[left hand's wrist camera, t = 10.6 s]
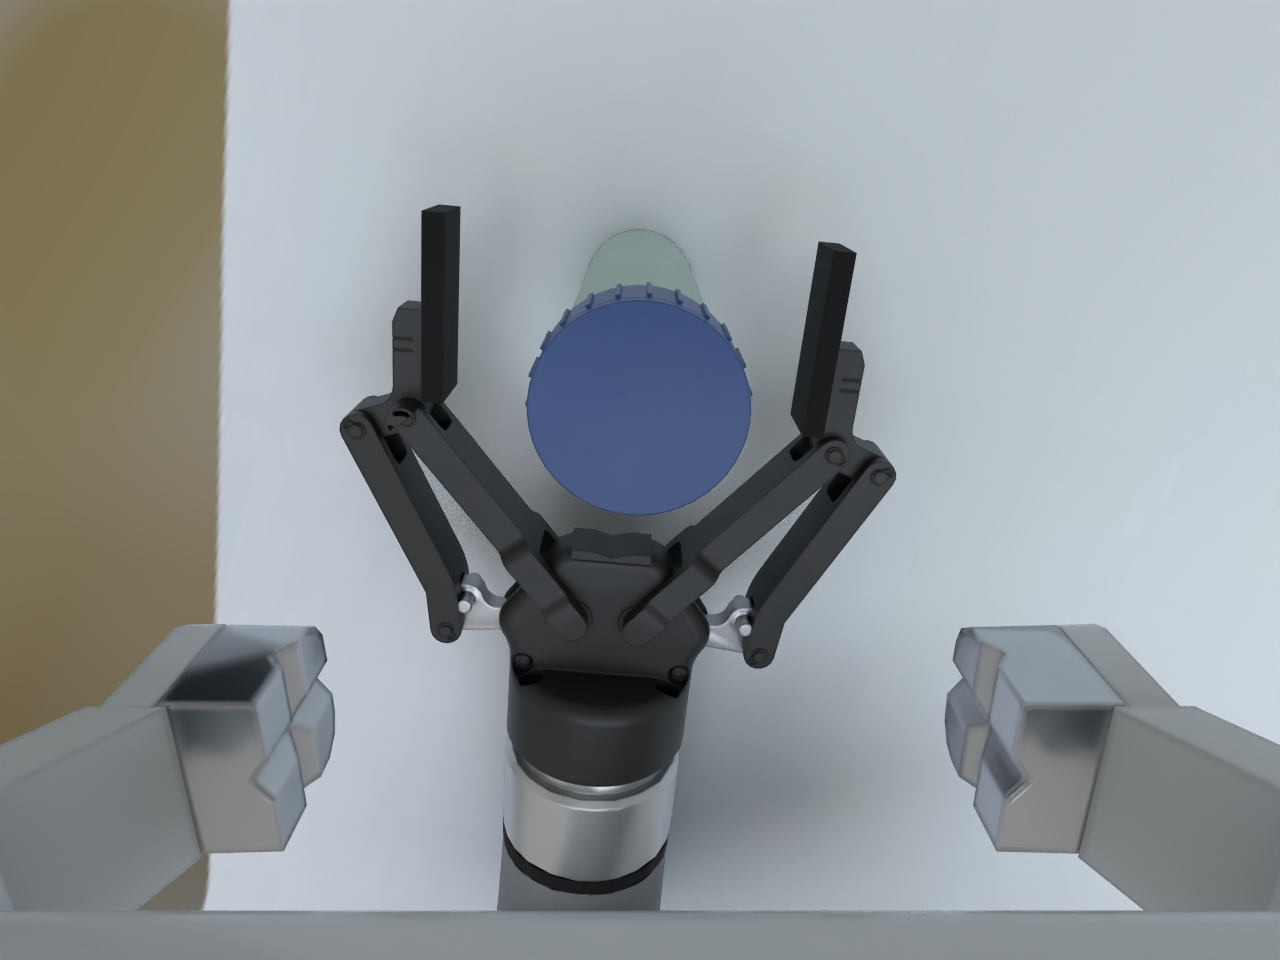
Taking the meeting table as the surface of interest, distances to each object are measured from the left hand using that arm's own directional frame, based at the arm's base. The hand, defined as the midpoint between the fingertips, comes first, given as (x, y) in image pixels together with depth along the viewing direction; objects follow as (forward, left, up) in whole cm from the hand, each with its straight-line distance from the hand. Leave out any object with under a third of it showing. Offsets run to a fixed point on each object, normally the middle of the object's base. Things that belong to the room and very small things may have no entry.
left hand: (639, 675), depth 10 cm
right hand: (-3, -1, -23) cm, 23 cm away
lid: (0, 0, -11) cm, 11 cm away
